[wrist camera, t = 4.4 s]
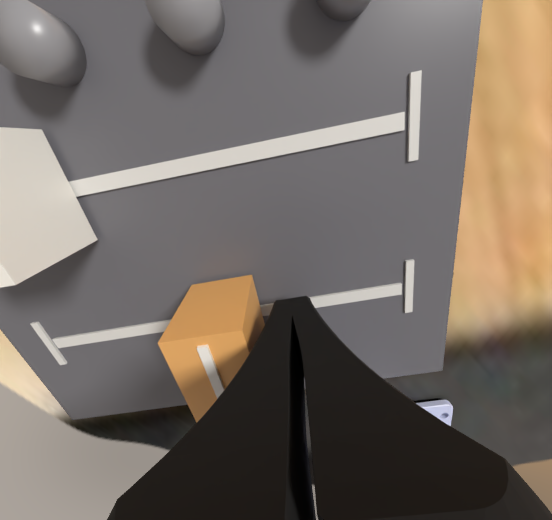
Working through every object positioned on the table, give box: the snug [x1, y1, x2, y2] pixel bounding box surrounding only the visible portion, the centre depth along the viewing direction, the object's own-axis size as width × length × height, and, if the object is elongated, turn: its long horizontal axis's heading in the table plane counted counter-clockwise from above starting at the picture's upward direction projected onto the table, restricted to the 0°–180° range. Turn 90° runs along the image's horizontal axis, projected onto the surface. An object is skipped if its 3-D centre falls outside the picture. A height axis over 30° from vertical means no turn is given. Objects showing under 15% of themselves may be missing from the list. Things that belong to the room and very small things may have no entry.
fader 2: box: [158, 275, 265, 423], centre depth 9 cm, size 4×2×3 cm, turn 11°
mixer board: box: [0, 0, 483, 420], centre depth 10 cm, size 16×19×3 cm
